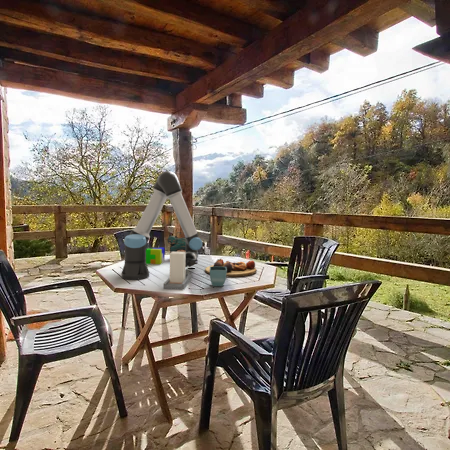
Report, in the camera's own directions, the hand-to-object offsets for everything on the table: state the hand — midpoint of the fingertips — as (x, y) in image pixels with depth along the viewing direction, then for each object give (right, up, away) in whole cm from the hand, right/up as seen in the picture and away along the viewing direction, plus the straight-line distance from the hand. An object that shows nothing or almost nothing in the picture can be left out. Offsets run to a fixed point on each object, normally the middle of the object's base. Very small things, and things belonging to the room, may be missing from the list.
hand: (181, 267), depth 168 cm
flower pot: (+19, -9, -3) cm, 22 cm away
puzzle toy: (-25, -4, +52) cm, 58 cm away
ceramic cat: (-9, -3, +67) cm, 68 cm away
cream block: (-2, -7, -3) cm, 8 cm away
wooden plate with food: (+27, -7, +30) cm, 40 cm away
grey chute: (-2, -8, 0) cm, 9 cm away
